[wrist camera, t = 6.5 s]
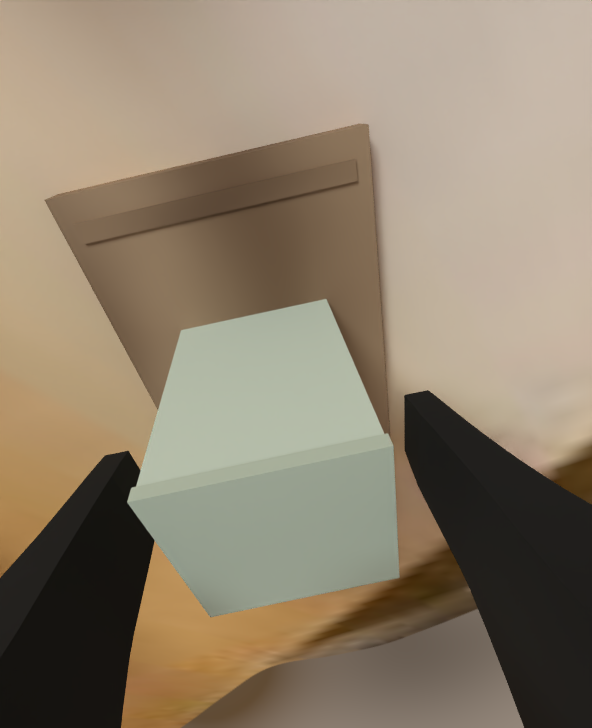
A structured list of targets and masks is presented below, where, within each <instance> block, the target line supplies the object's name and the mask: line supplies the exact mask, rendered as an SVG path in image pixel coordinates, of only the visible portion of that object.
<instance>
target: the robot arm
mask: <svg viewBox="0 0 592 728" xmlns="http://www.w3.org/2000/svg"><path fill="white" fill-rule="evenodd" d="M404 398H405V452H406V455H407V457H408V460H409V463H410V466H411V468H412V471H413V474H414V476H415V479H416V481H417V484H418V486H419V488H420V490H421V492H422V494H423V496H424V498H425V500H426V502H427V504H428V506H429V508H430V510H431V512H432V514H433V516H434V518H435V520H436V522H437V524H438V526H439V528H440V530H441V532H442V534H443V536H444V537H445V539H446V541H447V543H448V545H449V547H450V549H451V551H452V553H453V555H454V557H455V559H456V561H457V563H458V565H459V567H460V569H461V571H462V573H463V575H464V577H465V579H466V581H467V584H468V586H469V588H470V590H471V593H472V595H473V597H474V600H475V602H476V605H477V607H478V610H479V612H480V615H481V617H482V619H483V622H484V624H485V627H486V629H487V632H488V634H489V637H490V639H491V642H492V644H493V647H494V650H495V652H496V655H497V657H498V660H499V662H500V665H501V667H502V670H503V672H504V675H505V677H506V680H507V683H508V685H509V688H510V691H511V693H512V696H513V699H514V701H515V704H516V707H517V709H518V712H519V715H520V717H521V720H522V722H523V725H524V728H592V505H591V504H589V503H588V502H586V501H584V500H583V499H581V498H579V497H577V496H576V495H574V494H572V493H571V492H569V491H567V490H565V489H564V488H562V487H561V486H559V485H557V484H556V483H554V482H553V481H551V480H549V479H548V478H546V477H545V476H543V475H542V474H540V473H539V472H537V471H536V470H534V469H533V468H531V467H530V466H528V465H527V464H525V463H524V462H522V461H521V460H519V459H518V458H516V457H515V456H514V455H512V454H511V453H509V452H508V451H506V450H505V449H504V448H502V447H501V446H500V445H498V444H497V443H495V442H494V441H493V440H491V439H490V438H489V437H487V436H486V435H484V434H483V433H482V432H480V431H479V430H478V429H477V428H475V427H474V426H473V425H471V424H470V423H469V422H467V421H466V420H465V419H464V418H462V417H461V416H460V415H459V414H457V413H456V412H455V411H454V410H452V409H451V408H450V407H449V406H447V405H446V404H445V403H444V402H442V401H441V400H440V399H439V398H437V397H436V396H435V395H434V394H432V393H431V392H430V391H428V390H427V391H423V392H418V393H413V394H408V395H404ZM139 475H140V469H139V467H138V466H137V464H136V462H135V461H134V459H133V458H132V456H131V454H130V453H129V451H125V452H120V453H115V454H110V455H105V456H104V457H103V459H102V460H101V461H100V462H99V463H98V464H97V465H96V467H95V468H94V469H93V470H92V471H91V472H90V474H89V475H88V476H87V477H86V479H85V480H84V481H83V482H82V483H81V485H80V486H79V487H78V488H77V489H76V491H75V492H74V493H73V494H72V496H71V497H70V498H69V499H68V500H67V502H66V503H65V504H64V505H63V506H62V508H61V509H60V510H59V511H58V512H57V514H56V515H55V516H54V517H53V518H52V520H51V521H50V522H49V523H48V524H47V526H46V527H45V528H44V529H43V530H42V532H41V533H40V534H39V535H38V536H37V537H36V539H35V540H34V541H33V542H32V543H31V544H30V545H29V546H28V548H27V549H26V550H25V551H24V552H23V553H22V554H21V555H20V556H19V558H18V559H17V560H16V561H15V562H14V563H13V564H12V565H11V567H10V568H9V569H8V570H7V571H6V572H5V573H4V574H3V576H2V577H1V578H0V728H121V722H122V713H123V704H124V696H125V688H126V681H127V673H128V665H129V658H130V652H131V647H132V641H133V636H134V631H135V626H136V622H137V618H138V613H139V609H140V604H141V600H142V595H143V591H144V586H145V582H146V577H147V573H148V568H149V564H150V559H151V555H152V550H153V545H154V539H153V537H152V536H151V535H150V533H149V532H148V530H147V529H146V528H145V526H144V525H143V524H142V522H141V521H140V519H139V518H138V517H137V515H136V514H135V513H134V511H133V510H132V508H131V507H130V506H129V504H128V503H127V501H128V498H129V494H130V491H131V488H132V487H136V485H137V482H138V478H139Z"/></svg>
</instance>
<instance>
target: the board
mask: <svg viewBox="0 0 592 728" xmlns="http://www.w3.org/2000/svg"><path fill="white" fill-rule="evenodd" d="M45 202H46V204H47V205H48V207H49V209H50V211H51V213H52V215H53V217H54V218H55V220H56V222H57V224H58V226H59V228H60V230H61V231H62V233H63V235H64V237H65V239H66V241H67V243H68V244H69V246H70V248H71V250H72V252H73V254H74V256H75V257H76V259H77V261H78V263H79V265H80V267H81V268H82V270H83V272H84V274H85V276H86V278H87V280H88V281H89V283H90V285H91V287H92V289H93V291H94V293H95V294H96V296H97V298H98V300H99V302H100V304H101V306H102V307H103V309H104V311H105V313H106V315H107V317H108V318H109V320H110V322H111V324H112V326H113V328H114V330H115V331H116V333H117V335H118V337H119V339H120V341H121V343H122V344H123V346H124V348H125V350H126V352H127V354H128V356H129V357H130V359H131V361H132V363H133V365H134V367H135V368H136V370H137V372H138V374H139V376H140V378H141V380H142V381H143V383H144V385H145V387H146V389H147V391H148V393H149V394H150V396H151V398H152V400H153V402H154V404H155V406H156V407H157V409H159V405H160V402H161V398H162V395H163V391H164V388H165V384H166V381H167V377H168V374H169V370H170V367H171V363H172V360H173V357H174V353H175V350H176V346H177V343H178V339H179V336H180V332H181V330H184V329H189V328H194V327H198V326H203V325H208V324H212V323H217V322H221V321H226V320H231V319H235V318H240V317H245V316H249V315H254V314H258V313H263V312H268V311H272V310H277V309H282V308H286V307H291V306H296V305H300V304H305V303H309V302H314V301H319V300H323V299H327V302H328V304H329V306H330V309H331V311H332V313H333V316H334V318H335V320H336V323H337V325H338V327H339V330H340V332H341V334H342V336H343V339H344V341H345V343H346V346H347V348H348V350H349V353H350V355H351V357H352V360H353V362H354V364H355V367H356V369H357V371H358V374H359V376H360V378H361V381H362V383H363V385H364V388H365V390H366V392H367V395H368V397H369V399H370V402H371V404H372V406H373V409H374V411H375V413H376V415H377V418H378V420H379V422H380V425H381V427H382V429H383V432H384V434H386V433H388V435H389V437H390V428H389V413H388V399H387V385H386V370H385V356H384V341H383V327H382V313H381V298H380V284H379V269H378V255H377V241H376V226H375V212H374V197H373V183H372V169H371V154H370V140H369V126H368V124H357V125H352V126H348V127H344V128H340V129H335V130H331V131H327V132H322V133H318V134H314V135H310V136H305V137H301V138H297V139H293V140H288V141H284V142H280V143H275V144H271V145H267V146H263V147H258V148H254V149H250V150H245V151H241V152H237V153H233V154H228V155H224V156H220V157H216V158H211V159H207V160H203V161H198V162H194V163H190V164H186V165H181V166H177V167H173V168H169V169H164V170H160V171H156V172H151V173H147V174H143V175H139V176H134V177H130V178H126V179H121V180H117V181H113V182H109V183H104V184H100V185H96V186H92V187H87V188H83V189H79V190H74V191H70V192H66V193H62V194H58V195H55V196H53V197H51V198H49V199H46V200H45Z"/></svg>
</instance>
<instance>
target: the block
mask: <svg viewBox="0 0 592 728" xmlns="http://www.w3.org/2000/svg"><path fill="white" fill-rule="evenodd" d="M127 503H128V504H129V506H130V507H131V508H132V510H133V511H134V513H135V514H136V515H137V517H138V518H139V519H140V521H141V522H142V524H143V525H144V526H145V528H146V529H147V530H148V532H149V533H150V535H151V536H152V537H153V539H154V540H155V541H156V543H157V544H158V546H159V547H160V548H161V550H162V551H163V553H164V554H165V555H166V557H167V558H168V559H169V561H170V562H171V564H172V565H173V566H174V568H175V569H176V570H177V572H178V573H179V575H180V576H181V577H182V579H183V580H184V582H185V583H186V584H187V586H188V587H189V588H190V590H191V591H192V593H193V594H194V595H195V597H196V598H197V599H198V601H199V602H200V604H201V605H202V606H203V608H204V609H205V610H206V612H207V613H208V615H209V616H210V617H214V616H219V615H223V614H228V613H233V612H238V611H243V610H247V609H252V608H257V607H262V606H267V605H271V604H276V603H281V602H286V601H290V600H295V599H300V598H305V597H310V596H314V595H319V594H324V593H329V592H334V591H338V590H343V589H348V588H353V587H357V586H362V585H367V584H372V583H377V582H381V581H386V580H391V579H396V578H399V557H398V535H397V512H396V490H395V468H394V446H393V444H392V441H391V439H390V437H389V435H388V433H386V434H384V432H383V429H382V427H381V425H380V422H379V420H378V418H377V415H376V413H375V411H374V409H373V406H372V404H371V402H370V399H369V397H368V395H367V392H366V390H365V388H364V385H363V383H362V381H361V378H360V376H359V374H358V371H357V369H356V367H355V364H354V362H353V360H352V357H351V355H350V353H349V350H348V348H347V346H346V343H345V341H344V339H343V336H342V334H341V332H340V330H339V327H338V325H337V323H336V320H335V318H334V316H333V313H332V311H331V309H330V306H329V304H328V302H327V299H323V300H319V301H314V302H309V303H305V304H300V305H296V306H291V307H286V308H282V309H277V310H272V311H268V312H263V313H258V314H254V315H249V316H245V317H240V318H235V319H231V320H226V321H221V322H217V323H212V324H208V325H203V326H198V327H194V328H189V329H184V330H181V332H180V336H179V339H178V343H177V346H176V350H175V353H174V357H173V360H172V363H171V367H170V370H169V374H168V377H167V381H166V384H165V388H164V391H163V395H162V398H161V402H160V405H159V409H158V412H157V416H156V419H155V423H154V426H153V430H152V433H151V436H150V440H149V443H148V447H147V450H146V454H145V457H144V461H143V464H142V468H141V471H140V475H139V478H138V482H137V485H136V487H132V488H131V491H130V494H129V498H128V501H127Z"/></svg>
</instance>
